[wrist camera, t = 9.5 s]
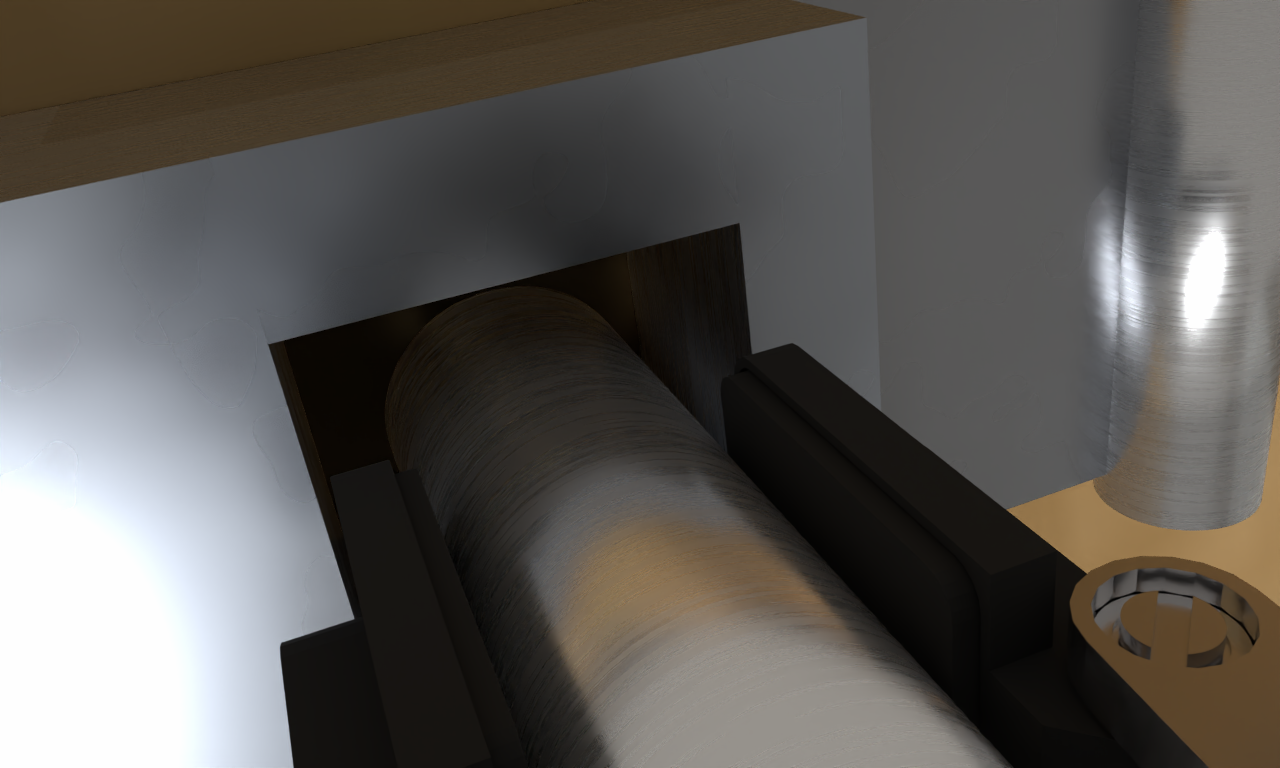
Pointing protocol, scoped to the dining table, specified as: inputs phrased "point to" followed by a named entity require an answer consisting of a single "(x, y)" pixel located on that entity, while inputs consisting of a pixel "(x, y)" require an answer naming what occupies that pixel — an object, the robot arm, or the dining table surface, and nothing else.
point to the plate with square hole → (660, 281)
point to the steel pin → (642, 564)
